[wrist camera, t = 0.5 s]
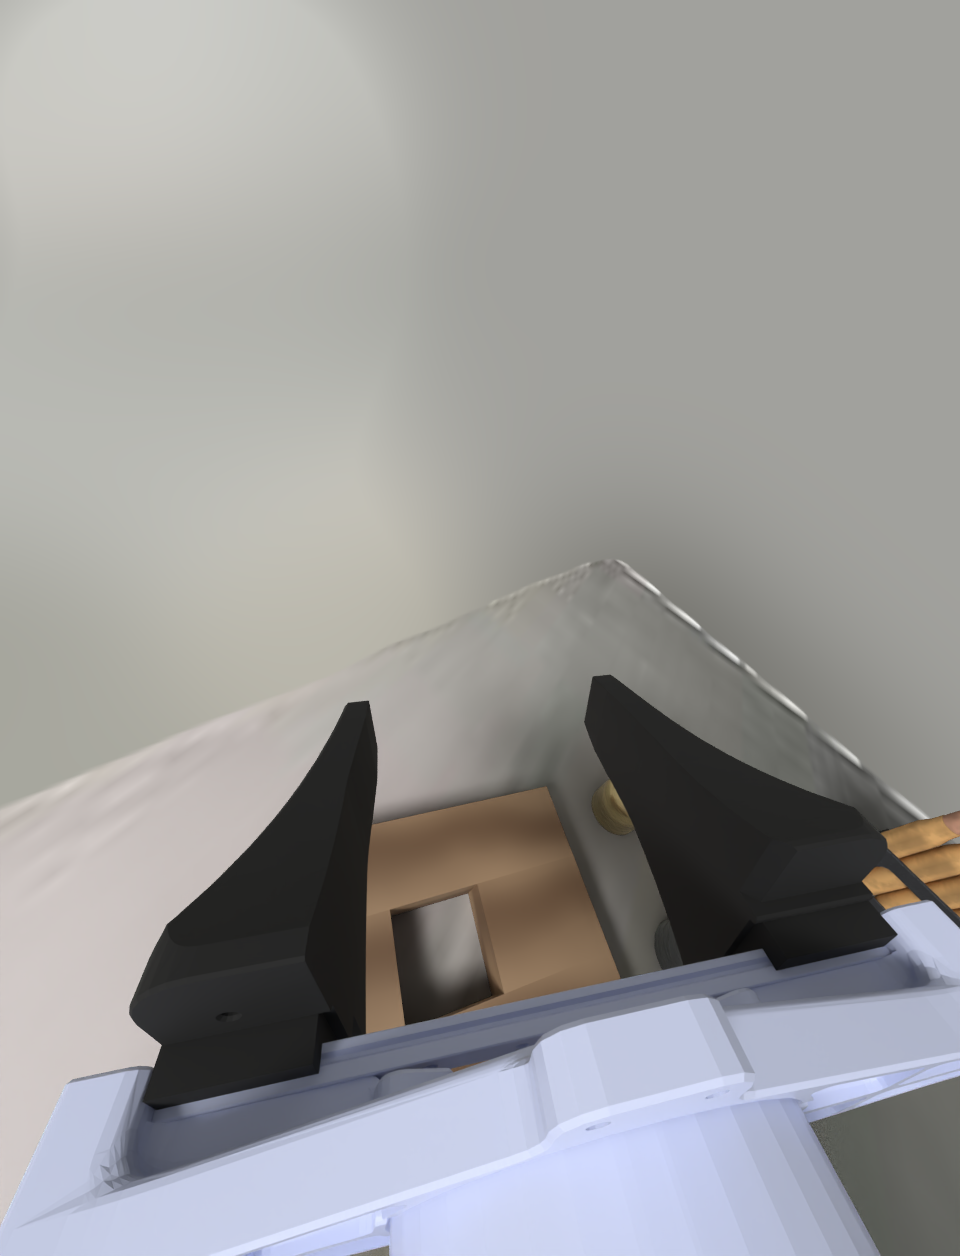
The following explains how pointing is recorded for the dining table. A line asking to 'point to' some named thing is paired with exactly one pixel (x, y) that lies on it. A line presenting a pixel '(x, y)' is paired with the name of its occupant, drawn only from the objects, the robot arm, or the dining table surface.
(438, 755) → the dining table surface
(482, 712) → the dining table surface
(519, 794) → the hole board
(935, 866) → the ammunition clip
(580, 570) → the dining table surface
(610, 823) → the short pin
